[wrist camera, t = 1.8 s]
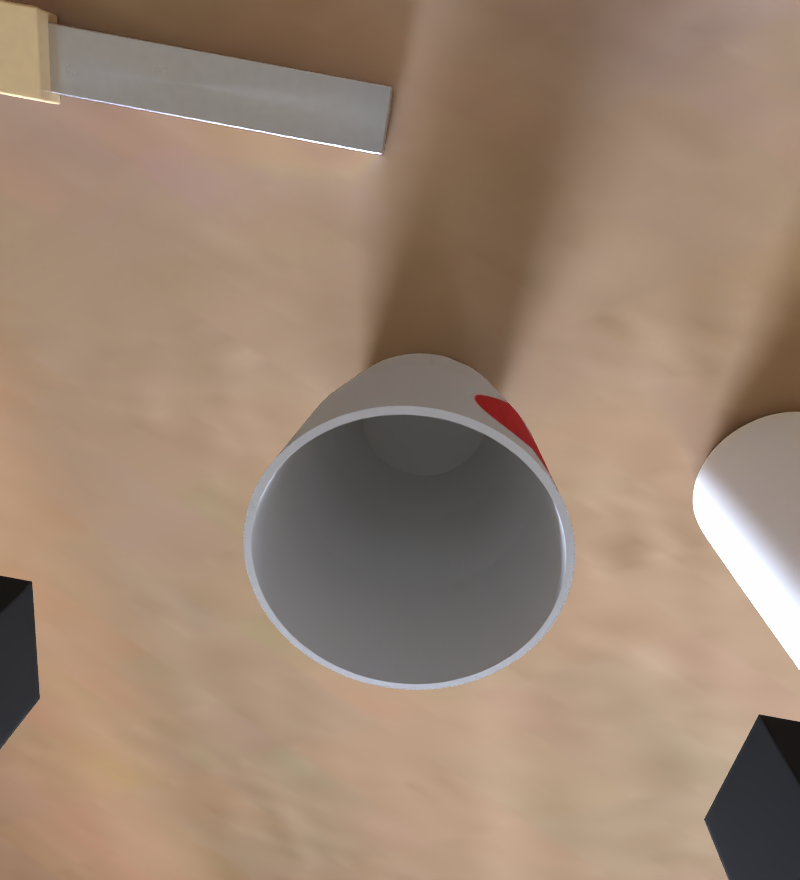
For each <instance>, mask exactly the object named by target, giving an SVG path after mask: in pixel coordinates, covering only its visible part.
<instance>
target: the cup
mask: <svg viewBox="0 0 800 880" xmlns="http://www.w3.org/2000/svg"><path fill="white" fill-rule="evenodd" d="M243 545H244V557H245V564H246V569H247V573H248V576H249V580H250V583H251V585H252V588H253V590H254V593H255V595H256V597H257V599H258V601H259V603H260V605H261V606H262V608H263V610H264V611H265V613H266V614H267V616H268V617H269V619H270V620H271V621H272V623H273V624H274V625H275V626H276V627H277V629H278V630H279V631H280V632H281V633H282V634H283V635H284V636H285V637H286V638H287V639H288V640H289V641H290V642H291V643H292V644H293V645H294V646H296V647H297V648H298V649H299V650H301V651H302V652H303V653H304V654H306V655H307V656H309V657H310V658H312V659H313V660H315V661H316V662H318V663H320V664H321V665H323V666H325V667H327V668H329V669H331V670H333V671H335V672H337V673H339V674H342V675H344V676H347V677H349V678H352V679H355V680H358V681H361V682H365V683H368V684H372V685H377V686H382V687H388V688H396V689H410V690H423V689H437V688H445V687H451V686H456V685H461V684H465V683H468V682H472V681H475V680H478V679H480V678H483V677H486V676H488V675H490V674H493V673H495V672H497V671H499V670H501V669H503V668H504V667H506V666H508V665H510V664H511V663H513V662H514V661H516V660H517V659H519V658H520V657H521V656H523V655H524V654H525V653H526V652H528V651H529V650H530V649H531V648H532V647H533V646H534V645H535V644H536V643H538V642H539V640H540V639H541V638H542V637H543V636H544V635H545V634H546V633H547V631H548V630H549V629H550V627H551V626H552V625H553V623H554V622H555V620H556V619H557V617H558V615H559V613H560V612H561V610H562V608H563V606H564V603H565V601H566V599H567V596H568V593H569V590H570V587H571V583H572V578H573V573H574V565H575V544H574V535H573V530H572V525H571V521H570V518H569V515H568V512H567V509H566V507H565V504H564V502H563V500H562V498H561V496H560V494H559V491H558V489H557V487H556V485H555V483H554V481H553V479H552V477H551V475H550V473H549V470H548V468H547V466H546V464H545V462H544V460H543V458H542V456H541V454H540V452H539V450H538V447H537V445H536V443H535V441H534V439H533V437H532V435H531V433H530V431H529V429H528V428H527V426H526V424H525V423H524V421H523V420H522V418H521V417H520V416H519V414H518V413H517V412H516V411H515V410H514V409H513V407H512V406H511V405H510V404H509V403H508V402H507V401H506V400H505V399H504V397H503V396H502V395H501V394H500V393H499V392H498V391H497V390H496V389H495V388H494V386H493V385H492V384H491V383H490V382H489V381H488V380H487V379H486V378H485V377H483V376H482V375H481V374H480V373H478V372H477V371H476V370H474V369H472V368H471V367H469V366H467V365H465V364H464V363H461V362H459V361H457V360H454V359H451V358H448V357H444V356H440V355H434V354H423V353H416V354H405V355H400V356H395V357H392V358H388V359H386V360H383V361H381V362H379V363H376V364H375V365H373V366H371V367H369V368H368V369H366V370H365V371H363V372H362V373H360V374H359V375H357V376H356V377H354V378H353V379H351V380H350V381H349V382H347V383H346V384H344V385H343V386H341V387H340V388H338V389H337V390H335V391H334V392H333V393H332V394H330V395H329V396H328V397H327V398H326V399H325V400H324V401H323V402H322V403H321V404H320V405H319V406H318V407H317V408H316V410H315V411H314V412H313V413H312V414H311V416H310V417H309V418H308V419H307V421H306V422H305V423H304V424H303V425H302V427H301V428H300V429H299V430H298V432H297V433H296V434H295V435H294V436H293V438H292V439H291V440H290V441H289V443H288V444H287V445H286V446H285V447H284V449H283V450H282V451H281V452H280V454H279V455H278V456H277V457H276V458H275V460H274V461H273V462H272V463H271V465H270V466H269V467H268V469H267V470H266V471H265V473H264V474H263V476H262V478H261V479H260V481H259V483H258V485H257V487H256V489H255V491H254V493H253V495H252V498H251V500H250V503H249V507H248V510H247V514H246V519H245V525H244V537H243Z"/></svg>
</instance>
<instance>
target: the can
mask: <svg viewBox="0 0 800 880" xmlns="http://www.w3.org/2000/svg"><path fill="white" fill-rule="evenodd" d="M693 506H694V512H695V516H696V519H697V522H698V524H699V526H700V528H701V530H702V531H703V533H704V534H705V536H706V538H707V539H708V541H709V542H710V543H711V545H712V546H713V548H714V549H715V551H716V552H717V554H718V555H719V557H720V558H721V559H722V561H723V562H724V564H725V565H726V566H727V568H728V569H729V571H730V572H731V574H732V575H733V576H734V578H735V579H736V581H737V582H738V584H739V585H740V586H741V588H742V589H743V591H744V592H745V593H746V595H747V596H748V598H749V599H750V601H751V602H752V603H753V605H754V606H755V608H756V609H757V610H758V612H759V613H760V615H761V616H762V618H763V619H764V620H765V622H766V623H767V625H768V626H769V627H770V629H771V630H772V632H773V633H774V634H775V636H776V637H777V639H778V640H779V641H780V643H781V644H782V646H783V647H784V648H785V650H786V651H787V653H788V654H789V655H790V657H791V658H792V660H793V661H794V662H795V664H796V665H797V667H798V668H799V669H800V412H784V413H778V414H773V415H769V416H765V417H762V418H759V419H757V420H754V421H752V422H750V423H748V424H746V425H744V426H742V427H740V428H739V429H737V430H736V431H734V432H733V433H731V434H730V435H729V436H727V437H726V438H725V439H724V440H723V441H721V442H720V443H719V444H718V445H717V446H716V447H715V448H714V450H713V451H712V452H711V453H710V454H709V456H708V457H707V459H706V460H705V462H704V463H703V465H702V467H701V469H700V471H699V473H698V476H697V479H696V482H695V486H694V492H693Z"/></svg>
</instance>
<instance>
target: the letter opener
mask: <svg viewBox="0 0 800 880" xmlns="http://www.w3.org/2000/svg"><path fill="white" fill-rule="evenodd" d="M0 94H4V95H10V96H15V97H20V98H26V99H31V100H36V101H42V102H47V103H53V104H60V95H63V96H68V97H74V98H79V99H84V100H90V101H95V102H100V103H106V104H111V105H116V106H122V107H127V108H132V109H138V110H143V111H148V112H154V113H159V114H164V115H170V116H175V117H180V118H186V119H191V120H196V121H202V122H207V123H212V124H218V125H223V126H228V127H234V128H239V129H244V130H250V131H255V132H260V133H266V134H271V135H276V136H282V137H287V138H292V139H298V140H303V141H308V142H314V143H319V144H324V145H330V146H335V147H340V148H346V149H351V150H356V151H362V152H367V153H372V154H378V155H383V154H384V149H385V142H386V135H387V129H388V122H389V115H390V108H391V102H392V95H393V89H392V87H391V86H387V85H381V84H376V83H371V82H365V81H360V80H355V79H349V78H344V77H339V76H333V75H328V74H323V73H317V72H312V71H307V70H301V69H296V68H291V67H285V66H280V65H275V64H269V63H264V62H259V61H253V60H248V59H243V58H237V57H232V56H227V55H221V54H216V53H211V52H205V51H200V50H195V49H189V48H184V47H179V46H173V45H168V44H163V43H157V42H152V41H147V40H141V39H136V38H131V37H125V36H120V35H115V34H109V33H104V32H99V31H93V30H88V29H83V28H77V27H72V26H67V25H61V24H58V23H57V16H56V15H55V14H53V13H51V12H48V11H46V10H43V9H41V8H39V7H36V6H32V5H27V4H22V3H16V2H11V1H6V0H0Z"/></svg>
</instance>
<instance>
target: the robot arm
mask: <svg viewBox="0 0 800 880" xmlns="http://www.w3.org/2000/svg"><path fill="white" fill-rule="evenodd" d="M39 699H40V694H39V679H38V664H37V649H36V634H35V619H34V604H33V589H32V582H31V581H26V580H20V579H15V578H9V577H4V576H0V749H1V747H2V746H3V745H4V744H5V742H6V741H7V740H8V738H9V737H10V736H11V735H12V733H13V732H14V731H15V729H16V728H17V727H18V726H19V724H20V723H21V722H22V721H23V719H24V718H25V717H26V715H27V714H28V713H29V712H30V710H31V709H32V708H33V706H34V705H35V704H36V703H37V701H38V700H39ZM704 820H705V822H706V825H707V827H708V830H709V832H710V835H711V837H712V840H713V842H714V845H715V847H716V849H717V852H718V854H719V857H720V859H721V862H722V864H723V867H724V869H725V872H726V874H727V877H728V879H729V880H800V722H797V721H792V720H786V719H781V718H775V717H770V716H765V715H759V716H758V718H757V720H756V721H755V723H754V725H753V727H752V729H751V731H750V733H749V735H748V737H747V739H746V741H745V742H744V744H743V746H742V748H741V750H740V752H739V754H738V756H737V758H736V760H735V762H734V763H733V765H732V767H731V769H730V771H729V773H728V775H727V777H726V779H725V781H724V783H723V784H722V786H721V788H720V790H719V792H718V794H717V796H716V798H715V800H714V802H713V804H712V805H711V807H710V809H709V811H708V813H707V815H706V817H705V819H704Z"/></svg>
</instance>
